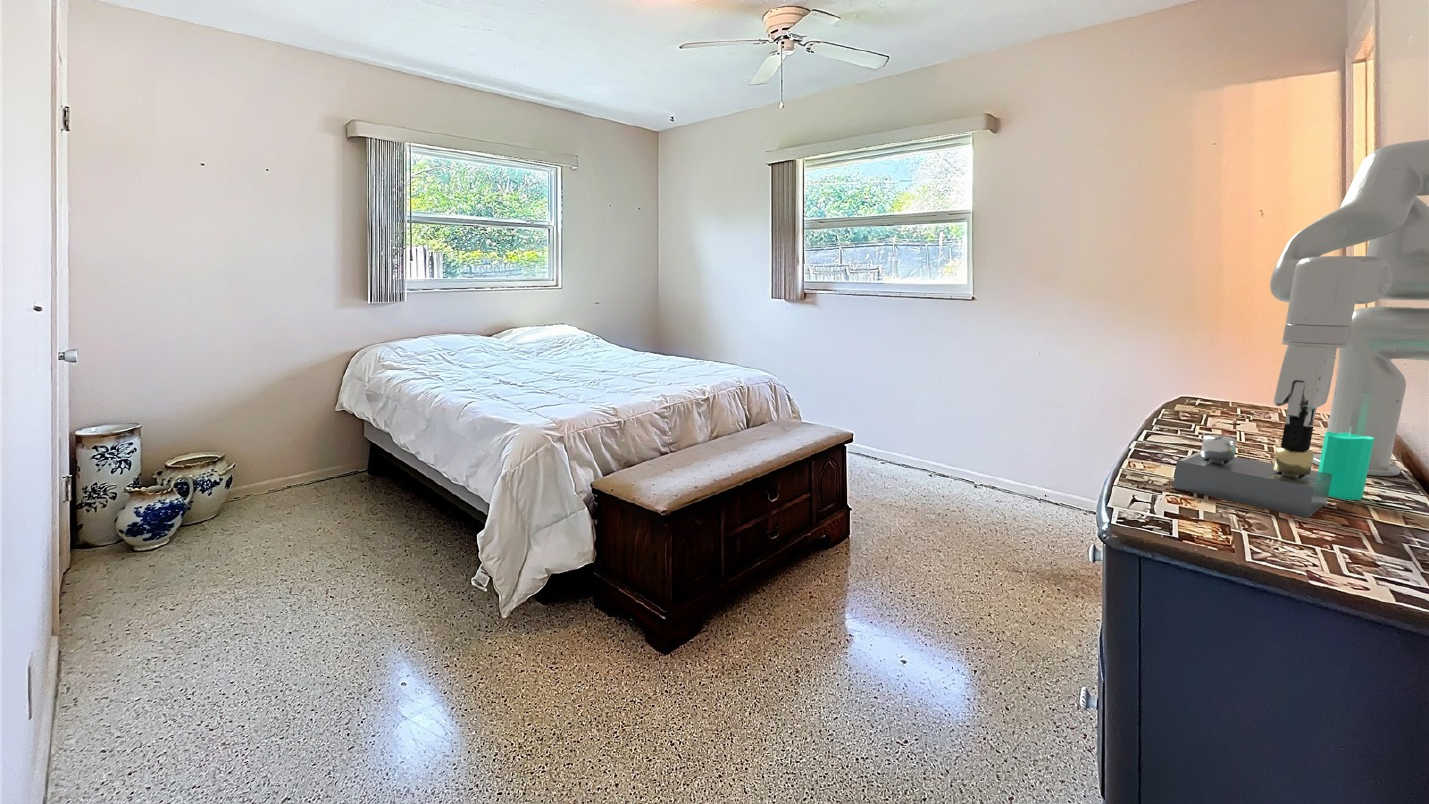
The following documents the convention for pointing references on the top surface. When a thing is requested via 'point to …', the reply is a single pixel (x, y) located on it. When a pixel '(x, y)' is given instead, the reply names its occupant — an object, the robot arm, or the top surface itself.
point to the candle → (1346, 463)
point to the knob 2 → (1293, 462)
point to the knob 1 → (1218, 448)
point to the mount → (1253, 484)
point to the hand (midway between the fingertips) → (1294, 449)
